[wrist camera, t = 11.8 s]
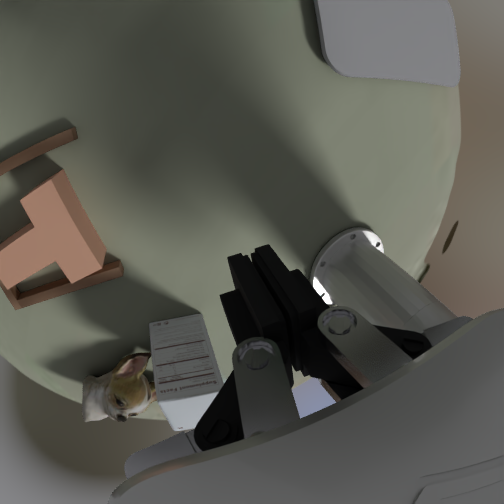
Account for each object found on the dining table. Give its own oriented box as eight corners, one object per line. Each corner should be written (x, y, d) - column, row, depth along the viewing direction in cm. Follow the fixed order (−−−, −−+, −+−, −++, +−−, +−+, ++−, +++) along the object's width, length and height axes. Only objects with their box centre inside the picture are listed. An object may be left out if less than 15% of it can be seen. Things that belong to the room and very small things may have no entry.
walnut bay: (123, 268, 31) (123, 276, 29) (18, 302, 27) (15, 310, 26) (75, 126, 22) (70, 128, 21) (-37, 186, 19) (-44, 191, 17)
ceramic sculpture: (61, 413, 27) (155, 384, 30) (64, 366, 34) (146, 335, 37) (105, 443, 33) (189, 419, 36) (101, 401, 40) (176, 375, 43)
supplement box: (209, 348, 41) (232, 421, 30) (159, 357, 39) (172, 433, 28) (203, 311, 37) (228, 390, 27) (147, 321, 35) (155, 404, 25)
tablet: (297, -44, 18) (306, -50, 17) (439, -2, 23) (449, -3, 22) (317, 77, 27) (328, 76, 25) (450, 87, 32) (461, 89, 30)
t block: (106, 248, 29) (102, 268, 26) (32, 288, 28) (23, 309, 24) (63, 168, 23) (50, 179, 20) (-12, 222, 22) (-27, 237, 19)
